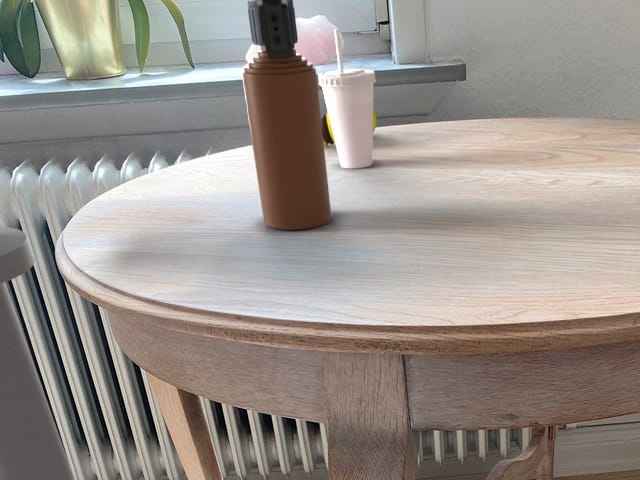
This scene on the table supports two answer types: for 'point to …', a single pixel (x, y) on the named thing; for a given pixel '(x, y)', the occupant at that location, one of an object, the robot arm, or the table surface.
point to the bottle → (287, 140)
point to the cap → (257, 22)
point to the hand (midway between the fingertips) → (281, 53)
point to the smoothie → (350, 110)
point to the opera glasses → (328, 132)
